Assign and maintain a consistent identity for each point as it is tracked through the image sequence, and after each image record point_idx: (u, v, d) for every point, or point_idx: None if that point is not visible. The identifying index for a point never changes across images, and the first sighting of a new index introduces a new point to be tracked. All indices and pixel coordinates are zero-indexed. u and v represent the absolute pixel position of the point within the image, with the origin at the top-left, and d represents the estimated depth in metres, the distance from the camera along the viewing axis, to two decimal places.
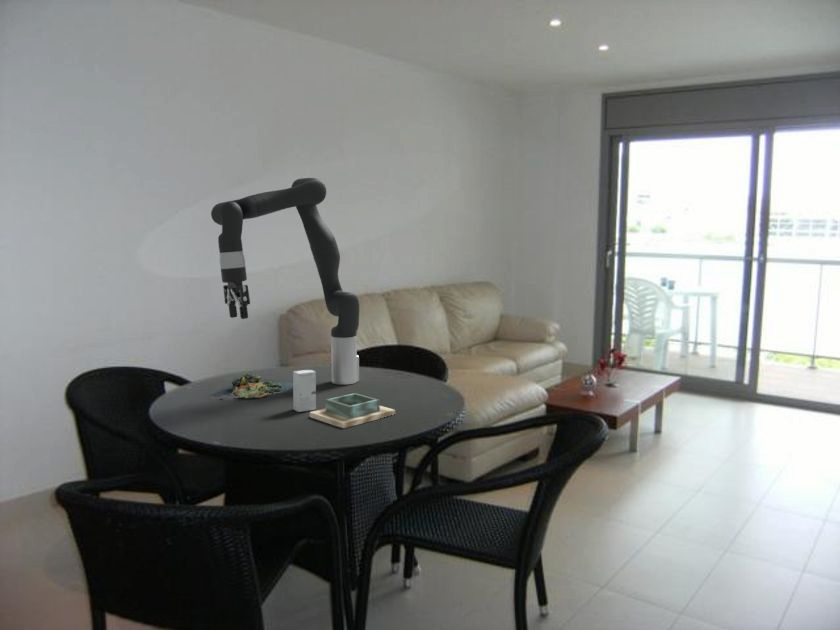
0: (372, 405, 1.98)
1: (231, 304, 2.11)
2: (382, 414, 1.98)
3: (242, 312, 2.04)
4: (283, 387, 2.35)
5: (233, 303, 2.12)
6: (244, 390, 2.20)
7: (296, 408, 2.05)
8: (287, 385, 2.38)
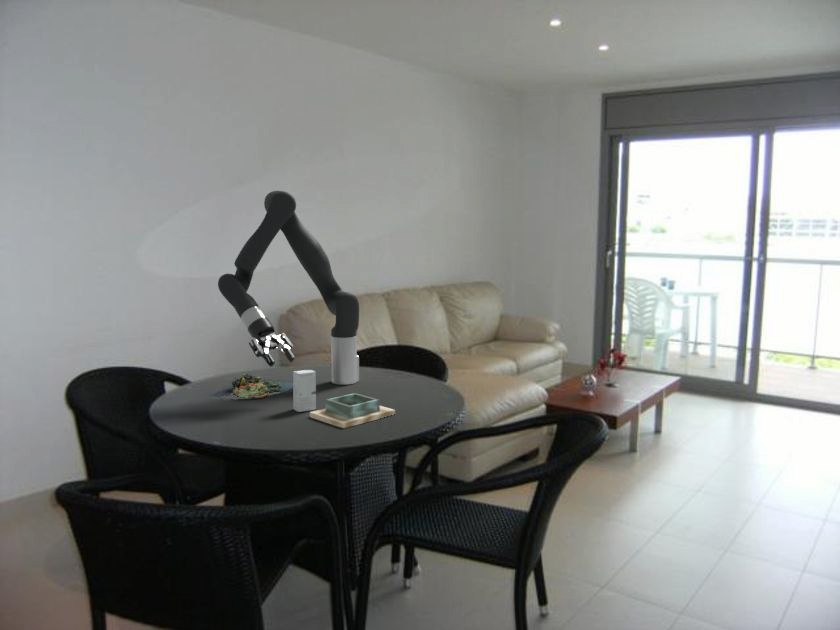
0: (372, 405, 1.98)
1: (285, 351, 2.15)
2: (382, 414, 1.98)
3: None
4: (283, 387, 2.34)
5: (286, 349, 2.15)
6: (244, 390, 2.19)
7: (296, 408, 2.05)
8: (287, 385, 2.37)
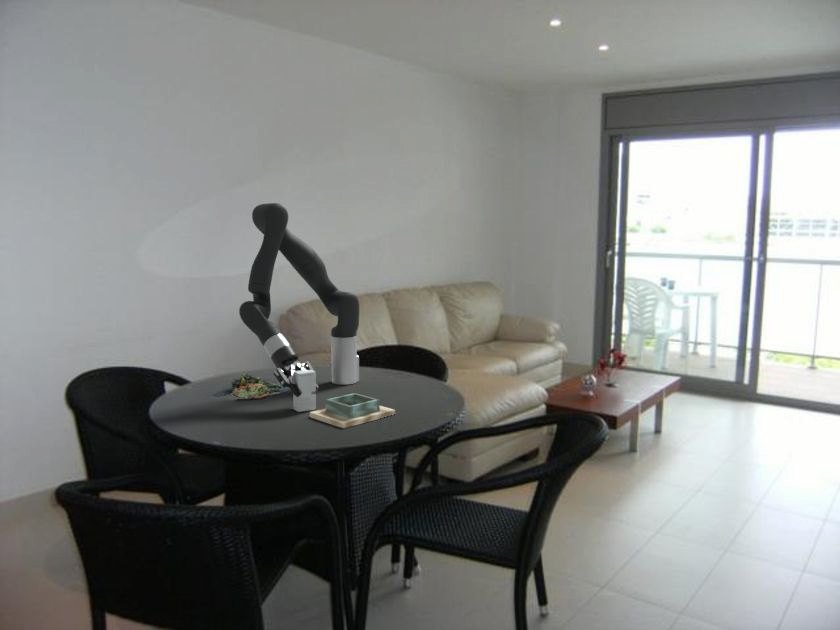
0: (372, 405, 1.98)
1: None
2: (382, 414, 1.98)
3: None
4: (283, 388, 2.34)
5: None
6: (244, 391, 2.19)
7: (296, 408, 2.05)
8: None
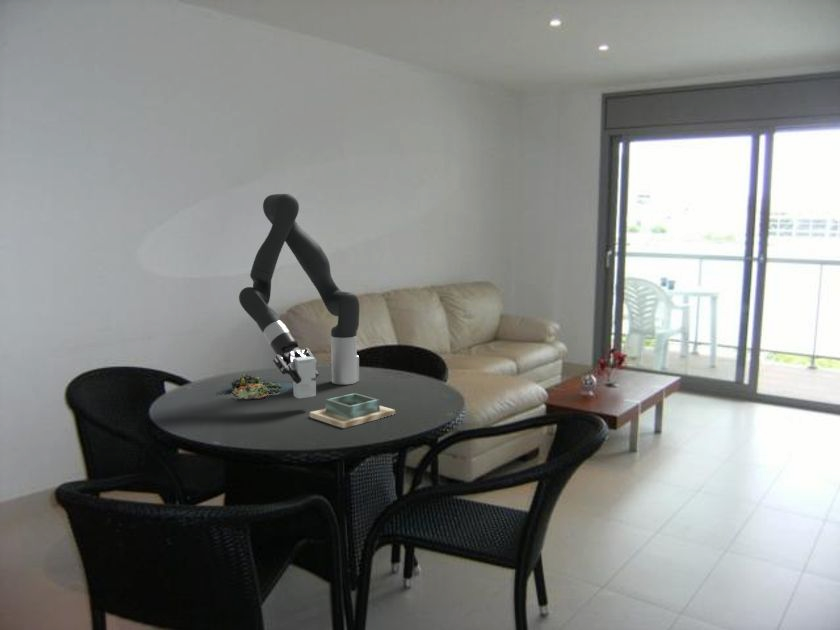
0: (372, 405, 1.98)
1: None
2: (382, 414, 1.98)
3: None
4: (283, 388, 2.34)
5: None
6: (243, 391, 2.19)
7: (296, 395, 2.04)
8: (287, 386, 2.37)
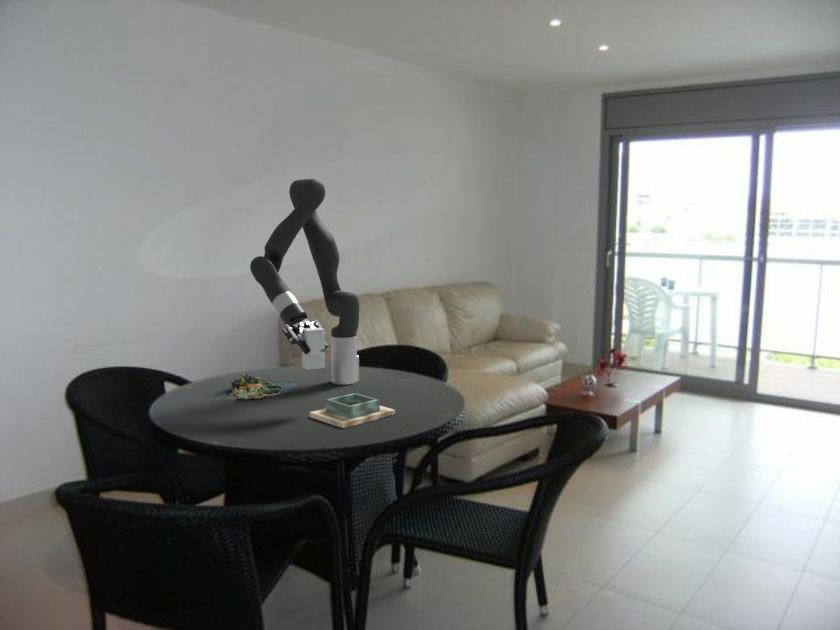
0: (372, 405, 1.98)
1: None
2: (382, 414, 1.98)
3: None
4: (283, 388, 2.33)
5: None
6: (243, 391, 2.19)
7: (305, 366, 2.01)
8: (287, 386, 2.36)
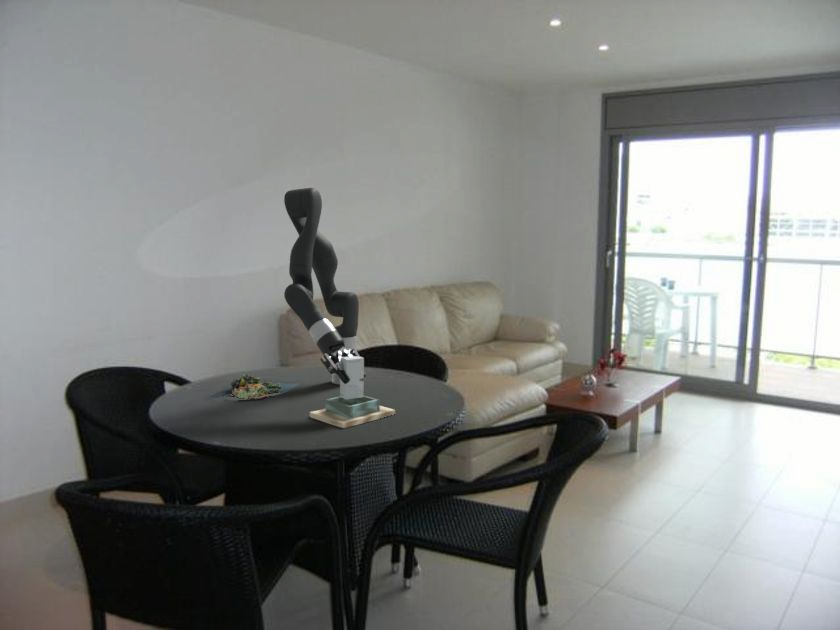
0: (372, 405, 1.98)
1: None
2: (382, 414, 1.98)
3: None
4: (282, 388, 2.33)
5: None
6: (243, 391, 2.18)
7: (343, 395, 1.97)
8: (286, 386, 2.36)
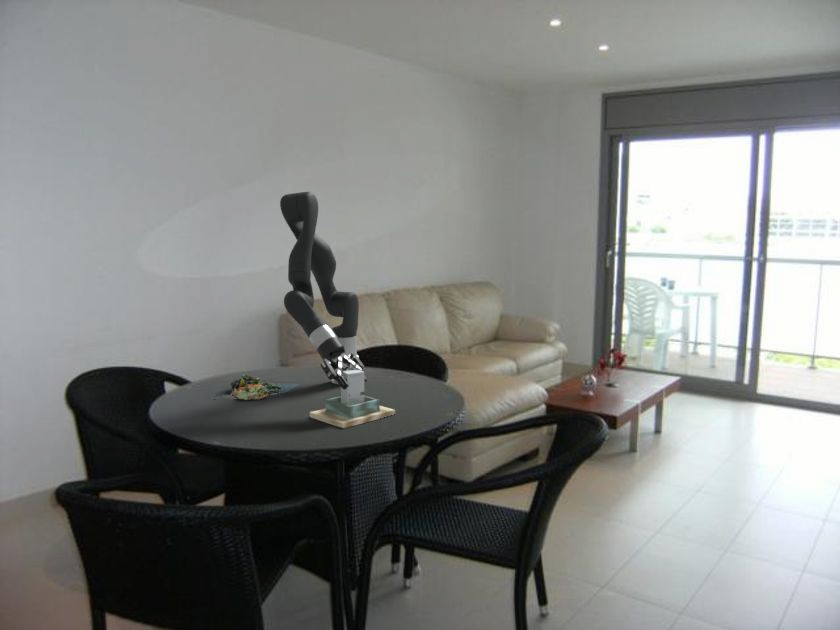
0: (372, 405, 1.98)
1: None
2: (382, 414, 1.98)
3: None
4: (282, 388, 2.33)
5: None
6: (243, 392, 2.18)
7: None
8: (286, 386, 2.36)
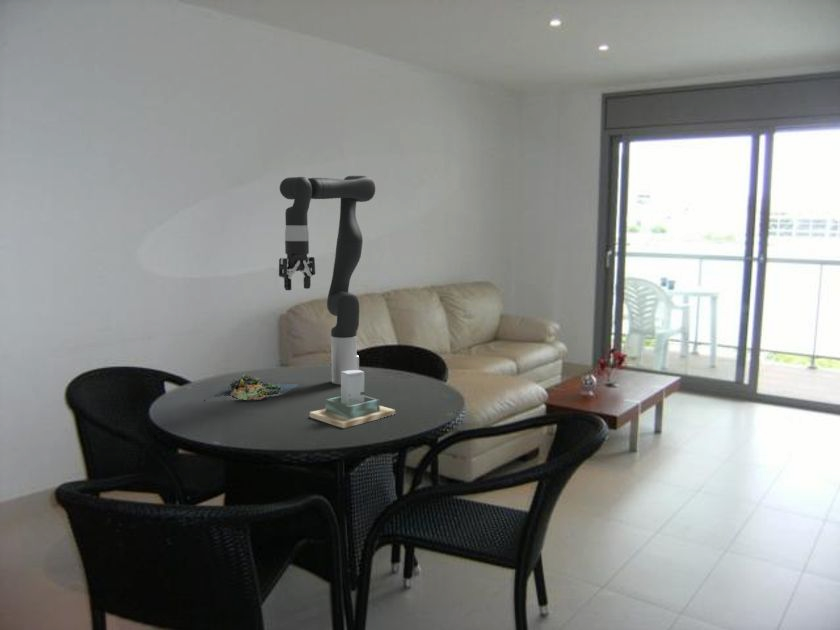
0: (372, 405, 1.98)
1: (305, 275, 2.20)
2: (382, 414, 1.98)
3: None
4: (282, 389, 2.32)
5: (307, 275, 2.20)
6: (242, 392, 2.17)
7: None
8: (286, 387, 2.35)
